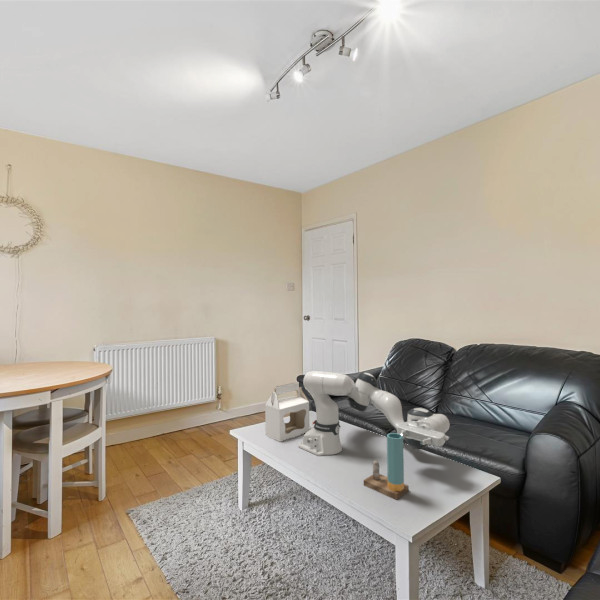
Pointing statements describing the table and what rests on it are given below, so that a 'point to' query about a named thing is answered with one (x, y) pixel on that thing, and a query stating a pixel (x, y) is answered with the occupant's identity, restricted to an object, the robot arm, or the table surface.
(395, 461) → the sleeve
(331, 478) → the table surface
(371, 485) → the pin board
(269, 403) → the gable box
